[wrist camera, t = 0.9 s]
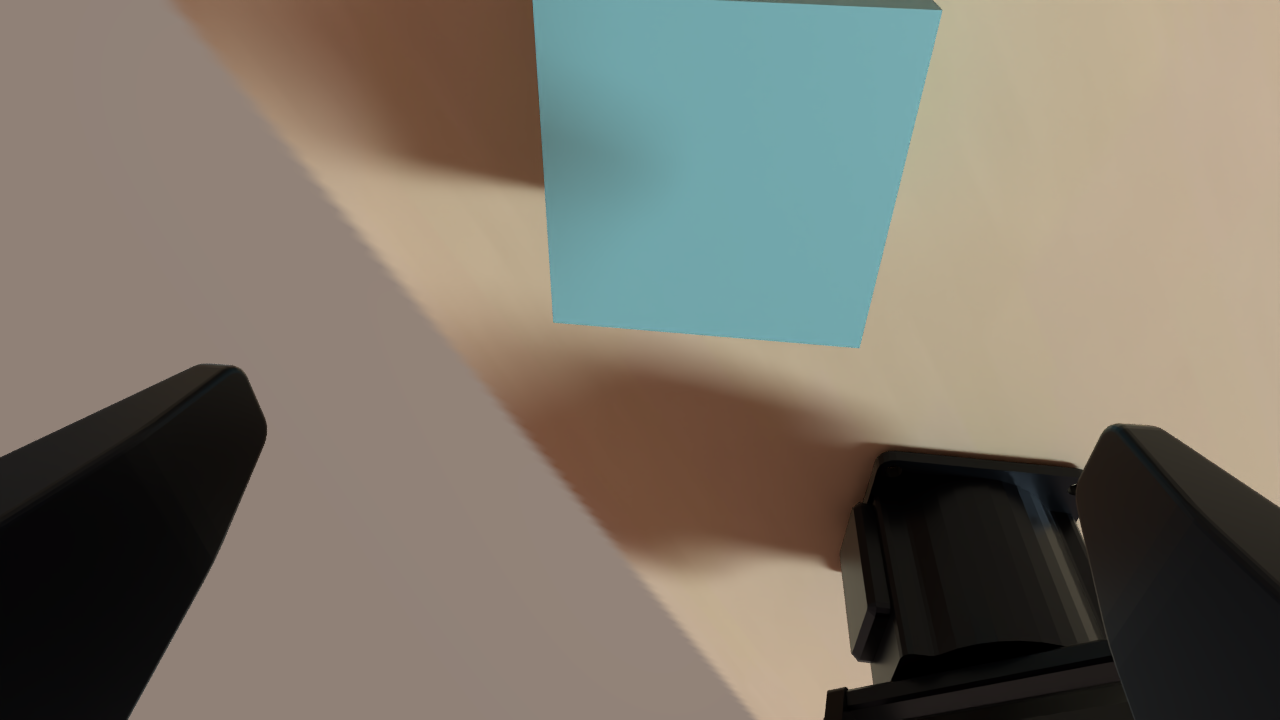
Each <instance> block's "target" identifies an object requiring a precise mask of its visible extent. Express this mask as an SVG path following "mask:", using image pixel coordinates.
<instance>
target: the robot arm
mask: <svg viewBox="0 0 1280 720" xmlns="http://www.w3.org/2000/svg"><path fill="white" fill-rule="evenodd" d="M266 436H267V424H266V420H265V417H264V415H263V412H262V410H261V408H260V405H259V403H258V401H257V399H256V396H255V394H254V392H253V389H252V387H251V385H250V382H249V380H248V378H247V376H246V374H245V373H244V372H243V371H242V370H241V369H240V368H238V367H236V366H233V365H221V364H199V365H196V366H193V367H191V368H189V369H187V370H185V371H183V372H181V373H178V374H176V375H174V376H172V377H170V378H168V379H166V380H164V381H161V382H159V383H157V384H155V385H153V386H151V387H149V388H147V389H145V390H143V391H140V392H138V393H136V394H134V395H132V396H130V397H128V398H126V399H123V400H122V401H119V402H117V403H115V404H113V405H111V406H109V407H107V408H104V409H102V410H100V411H98V412H96V413H94V414H91V415H89V416H87V417H85V418H83V419H81V420H79V421H77V422H74V423H72V424H70V425H68V426H66V427H64V428H62V429H60V430H58V431H56V432H53V433H51V434H49V435H47V436H45V437H43V438H41V439H39V440H37V441H34V442H32V443H30V444H28V445H26V446H24V447H21V448H19V449H17V450H15V451H13V452H11V453H9V454H7V455H4V456H2V457H0V720H128V718H129V717H130V715H131V713H132V711H133V709H134V707H135V706H136V704H137V702H138V700H139V698H140V696H141V695H142V693H143V691H144V689H145V687H146V686H147V684H148V682H149V680H150V678H151V677H152V675H153V673H154V671H155V669H156V667H157V665H158V664H159V662H160V660H161V658H162V657H163V655H164V653H165V651H166V649H167V648H168V646H169V644H170V642H171V640H172V638H173V637H174V635H175V633H176V631H177V629H178V628H179V626H180V624H181V622H182V620H183V618H184V617H185V615H186V613H187V611H188V609H189V608H190V606H191V604H192V602H193V600H194V598H195V597H196V595H197V593H198V591H199V589H200V587H201V586H202V584H203V582H204V580H205V578H206V576H207V574H208V572H209V571H210V569H211V567H212V565H213V563H214V561H215V558H216V556H217V554H218V552H219V550H220V547H221V545H222V543H223V541H224V539H225V536H226V534H227V532H228V529H229V527H230V524H231V522H232V520H233V517H234V515H235V513H236V510H237V508H238V505H239V503H240V501H241V498H242V496H243V494H244V491H245V489H246V487H247V484H248V482H249V480H250V477H251V475H252V472H253V470H254V468H255V465H256V463H257V461H258V458H259V456H260V453H261V451H262V448H263V446H264V444H265V441H266ZM890 466H897V467H895V468H888V467H890ZM1074 484H1076V485H1074ZM1071 485H1074V486H1071ZM1078 518H1079V519H1080V524H1081V528H1082V532H1083V537H1084V539H1083V537H1082V535H1081V533H1080V531H1079V528H1078V526H1077V524H1076V521H1077V520H1078ZM1084 541H1085V542H1084ZM840 562H841V570H842V579H843V588H844V596H845V605H846V613H847V622H848V630H849V639H850V648H851V654H852V655H853V656H854V657H855V658H856V659H857V661H858V662H866V663H870V664H871V671H872V678H873V685H870V686H865V687H860V688H855V689H850V690H848V688H846V687H843V688H838V689H833V690H828V691H827V699H826V709H825V718H824V719H823V720H1280V507H1278V506H1277V505H1275V504H1274V503H1272V502H1271V501H1269V500H1268V499H1266V498H1265V497H1263V496H1262V495H1260V494H1259V493H1257V492H1256V491H1254V490H1253V489H1251V488H1250V487H1248V486H1247V485H1245V484H1244V483H1242V482H1241V481H1239V480H1238V479H1236V478H1235V477H1233V476H1232V475H1230V474H1229V473H1227V472H1226V471H1224V470H1223V469H1221V468H1220V467H1218V466H1217V465H1215V464H1214V463H1212V462H1211V461H1209V460H1208V459H1206V458H1205V457H1203V456H1202V455H1201V454H1199V453H1198V452H1196V451H1195V450H1193V449H1192V448H1190V447H1189V446H1187V445H1186V444H1184V443H1183V442H1181V441H1180V440H1178V439H1177V438H1175V437H1174V436H1172V435H1171V434H1169V433H1168V432H1166V431H1165V430H1163V429H1161V428H1159V427H1156V426H1150V425H1136V424H1121V423H1118V424H1113V425H1110V426H1108V427H1107V428H1106V429H1105V430H1104V431H1103V433H1102V434H1101V436H1100V438H1099V440H1098V442H1097V444H1096V446H1095V448H1094V450H1093V452H1092V454H1091V456H1090V458H1089V460H1088V462H1087V464H1086V466H1085V468H1084V470H1081V469H1076V468H1066V467H1055V466H1045V465H1035V464H1024V463H1014V462H1003V461H993V460H982V459H972V458H962V457H951V456H941V455H930V454H920V453H910V452H899V451H888V452H885V453H882V454H881V455H880V456H878V457H877V459H876V461H875V464H874V467H873V471H872V474H871V477H870V481H869V484H868V488H867V491H866V494H865V498H864V501H863V503H858V504H857V505H856V506H854V507H853V508H852V512H851V515H850V519H849V522H848V526H847V529H846V533H845V536H844V540H843V543H842V547H841V550H840Z"/></svg>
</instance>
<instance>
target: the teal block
mask: <svg viewBox="0 0 1280 720" xmlns="http://www.w3.org/2000/svg"><path fill="white" fill-rule="evenodd" d="M941 14H942V9H941V8H940V7H939V6H938V5H937V4H936V3H935V2H934V1H933V0H533V15H534V30H535V46H536V61H537V77H538V92H539V108H540V123H541V139H542V154H543V170H544V185H545V201H546V216H547V232H548V247H549V263H550V278H551V294H552V309H553V323H565V324H577V325H589V326H601V327H613V328H625V329H637V330H648V331H660V332H672V333H684V334H696V335H708V336H720V337H732V338H744V339H756V340H768V341H780V342H792V343H804V344H816V345H828V346H839V347H851V348H860V344H861V340H862V335H863V331H864V327H865V323H866V319H867V315H868V311H869V307H870V303H871V299H872V295H873V291H874V287H875V283H876V279H877V274H878V270H879V266H880V262H881V258H882V254H883V250H884V246H885V242H886V238H887V234H888V230H889V226H890V222H891V217H892V213H893V209H894V205H895V201H896V197H897V193H898V189H899V185H900V181H901V177H902V173H903V169H904V165H905V161H906V156H907V152H908V148H909V144H910V140H911V136H912V132H913V128H914V124H915V120H916V116H917V112H918V108H919V104H920V99H921V95H922V91H923V87H924V83H925V79H926V75H927V71H928V67H929V63H930V59H931V55H932V51H933V47H934V42H935V38H936V34H937V30H938V26H939V22H940V18H941Z"/></svg>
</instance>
